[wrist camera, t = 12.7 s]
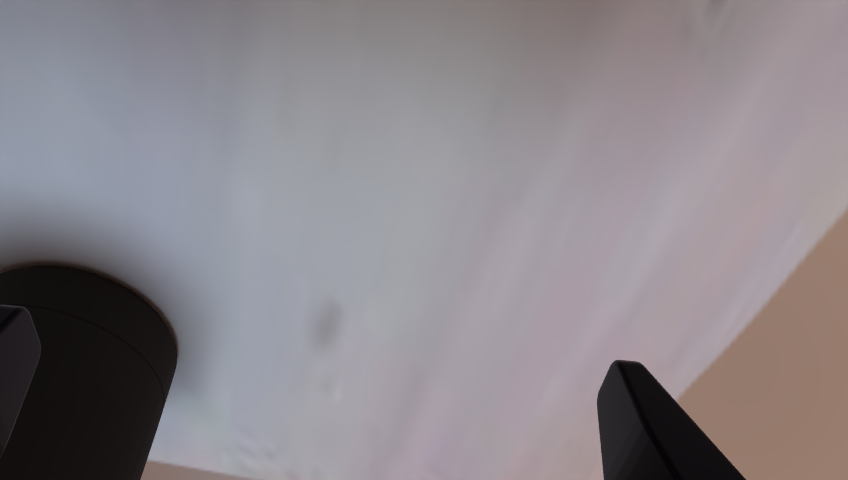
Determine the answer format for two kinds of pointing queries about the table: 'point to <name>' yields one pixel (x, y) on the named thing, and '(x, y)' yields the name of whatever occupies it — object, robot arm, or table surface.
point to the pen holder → (87, 378)
